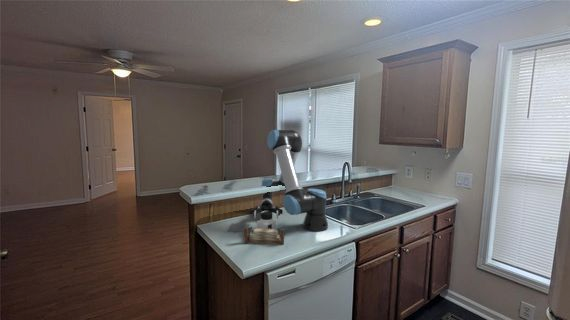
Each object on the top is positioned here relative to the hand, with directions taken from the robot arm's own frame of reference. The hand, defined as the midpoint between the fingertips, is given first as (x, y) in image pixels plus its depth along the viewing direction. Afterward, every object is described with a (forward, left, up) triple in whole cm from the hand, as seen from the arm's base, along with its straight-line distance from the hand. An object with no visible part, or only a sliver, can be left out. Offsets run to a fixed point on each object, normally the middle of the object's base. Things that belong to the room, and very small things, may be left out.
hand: (266, 216), depth 158 cm
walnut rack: (-1, +13, -7) cm, 15 cm away
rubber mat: (+16, +1, -7) cm, 18 cm away
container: (-1, +8, -8) cm, 11 cm away
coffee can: (-35, -40, -8) cm, 54 cm away
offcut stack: (-1, +18, -6) cm, 19 cm away
